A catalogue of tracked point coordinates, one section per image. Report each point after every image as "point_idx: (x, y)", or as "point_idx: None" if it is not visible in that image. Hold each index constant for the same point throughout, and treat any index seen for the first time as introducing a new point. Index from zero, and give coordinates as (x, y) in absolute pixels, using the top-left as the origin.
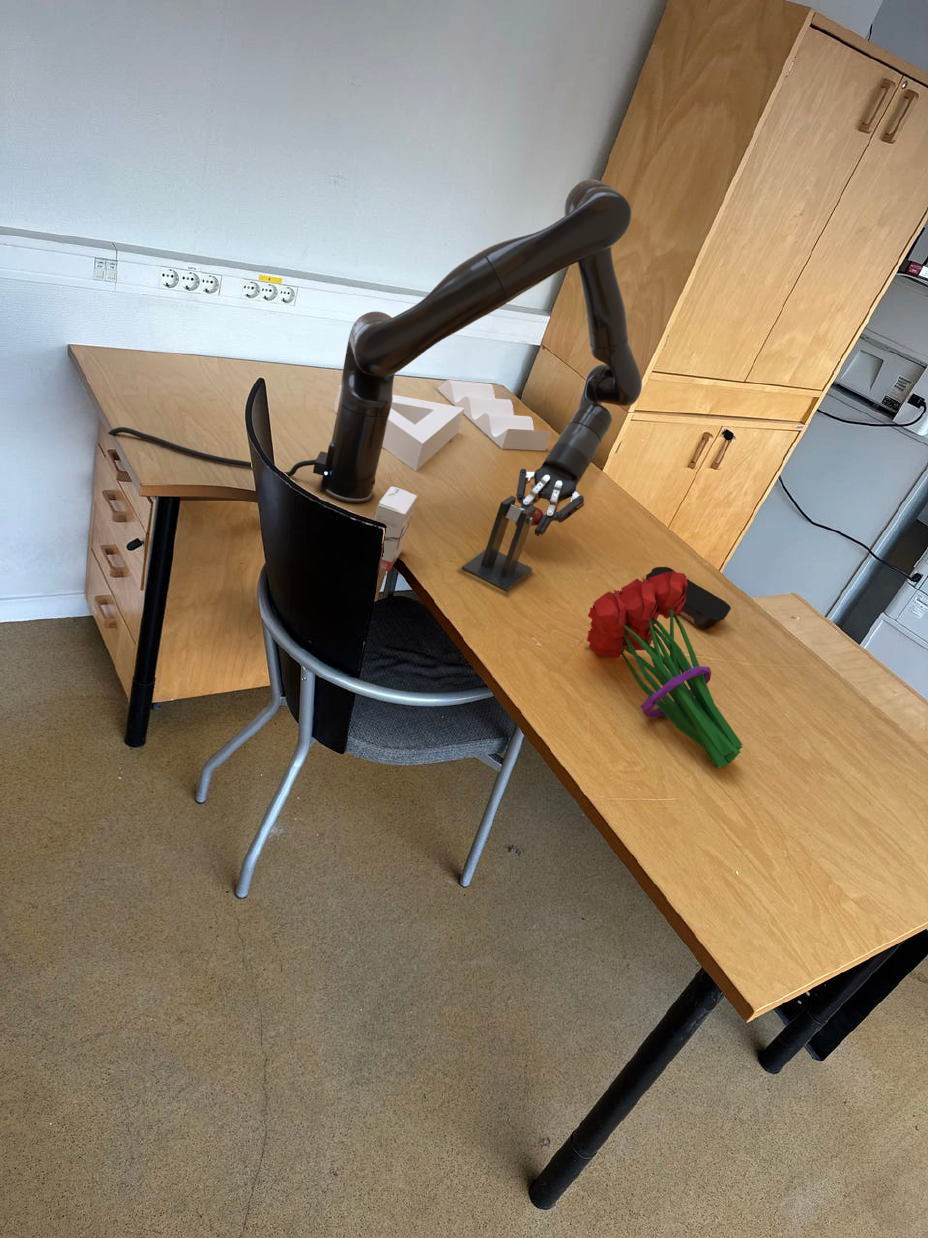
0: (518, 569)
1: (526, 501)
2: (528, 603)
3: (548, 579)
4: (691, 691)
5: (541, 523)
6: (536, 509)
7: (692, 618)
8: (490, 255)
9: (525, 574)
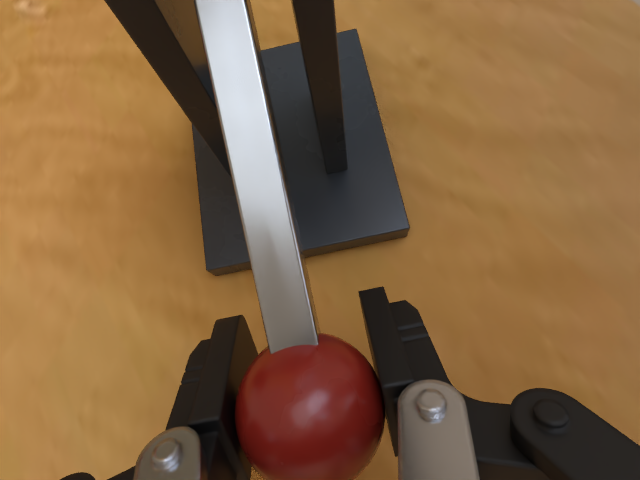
0: (233, 204)
1: (427, 399)
2: (125, 117)
3: (150, 316)
4: None
5: (213, 358)
6: (293, 393)
7: None
8: None
9: (201, 208)
